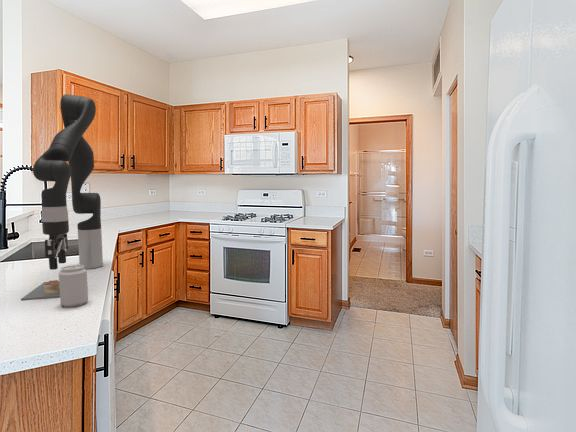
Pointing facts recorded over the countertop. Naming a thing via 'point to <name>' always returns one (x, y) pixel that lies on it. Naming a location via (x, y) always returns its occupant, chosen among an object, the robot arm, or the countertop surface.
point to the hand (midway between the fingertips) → (58, 266)
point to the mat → (40, 293)
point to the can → (73, 285)
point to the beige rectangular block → (52, 287)
